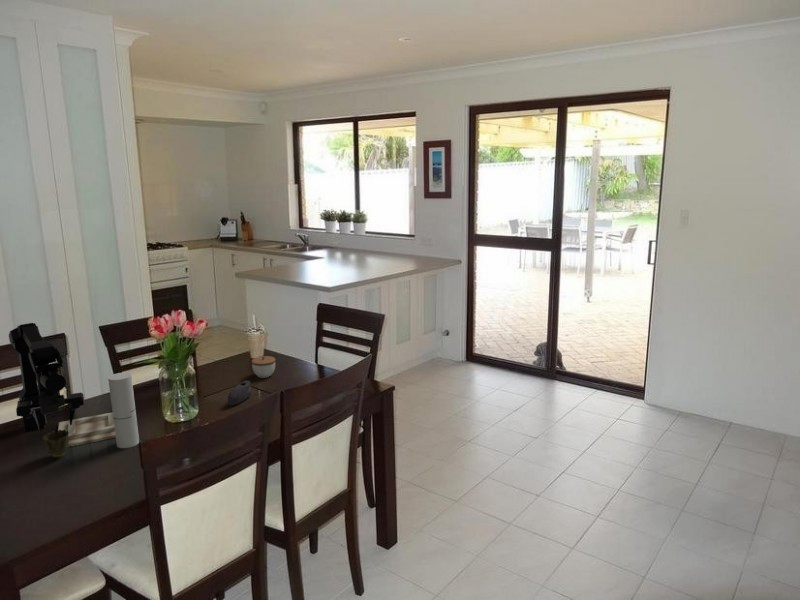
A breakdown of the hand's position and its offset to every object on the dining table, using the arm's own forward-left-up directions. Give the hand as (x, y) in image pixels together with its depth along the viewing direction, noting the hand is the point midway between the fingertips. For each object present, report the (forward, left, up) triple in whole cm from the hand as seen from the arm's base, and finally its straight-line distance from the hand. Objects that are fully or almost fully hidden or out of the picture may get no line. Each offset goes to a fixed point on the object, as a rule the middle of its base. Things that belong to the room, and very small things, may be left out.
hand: (54, 428), depth 188 cm
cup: (0, 0, -10) cm, 10 cm away
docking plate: (+10, +17, -10) cm, 22 cm away
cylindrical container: (+21, -1, -10) cm, 23 cm away
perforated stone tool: (+64, +18, -11) cm, 67 cm away
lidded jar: (+81, +43, -10) cm, 92 cm away
